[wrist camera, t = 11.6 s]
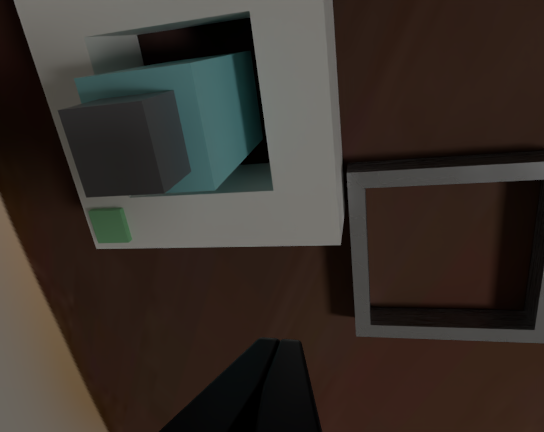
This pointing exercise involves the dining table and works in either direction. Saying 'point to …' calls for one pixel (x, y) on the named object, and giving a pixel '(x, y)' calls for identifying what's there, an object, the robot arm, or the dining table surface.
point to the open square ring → (446, 322)
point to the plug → (164, 126)
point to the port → (276, 110)
